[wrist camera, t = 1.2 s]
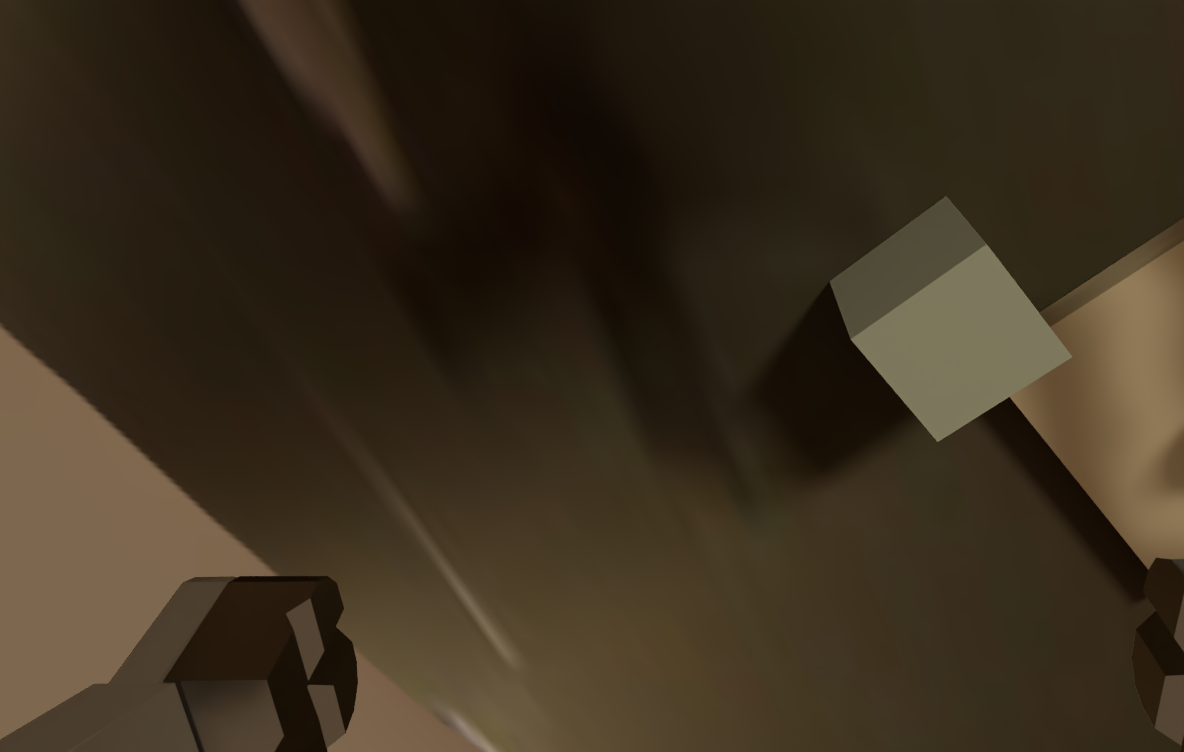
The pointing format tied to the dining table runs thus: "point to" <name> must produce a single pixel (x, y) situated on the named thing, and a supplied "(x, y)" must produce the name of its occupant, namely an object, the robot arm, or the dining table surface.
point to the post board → (1122, 393)
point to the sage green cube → (944, 321)
